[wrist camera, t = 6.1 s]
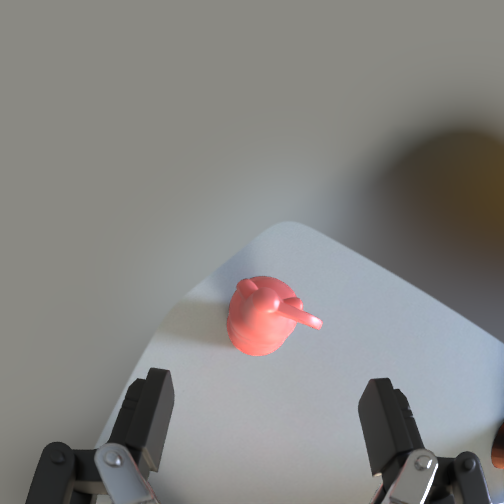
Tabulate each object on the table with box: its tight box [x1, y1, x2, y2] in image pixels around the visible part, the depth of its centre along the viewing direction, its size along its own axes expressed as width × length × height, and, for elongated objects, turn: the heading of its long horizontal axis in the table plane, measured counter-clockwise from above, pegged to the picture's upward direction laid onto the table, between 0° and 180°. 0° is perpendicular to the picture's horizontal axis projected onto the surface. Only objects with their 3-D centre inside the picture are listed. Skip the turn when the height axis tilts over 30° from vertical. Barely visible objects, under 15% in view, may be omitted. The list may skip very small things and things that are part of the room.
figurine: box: [227, 276, 322, 356], centre depth 20 cm, size 5×5×15 cm
